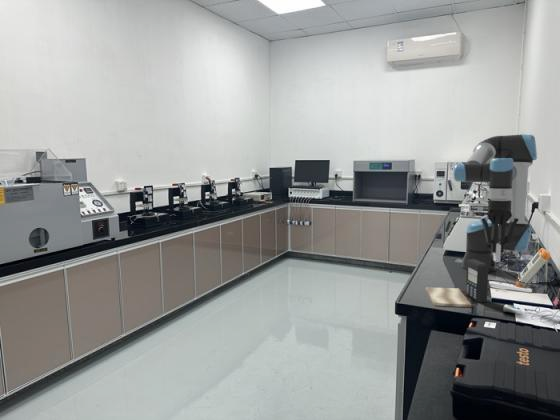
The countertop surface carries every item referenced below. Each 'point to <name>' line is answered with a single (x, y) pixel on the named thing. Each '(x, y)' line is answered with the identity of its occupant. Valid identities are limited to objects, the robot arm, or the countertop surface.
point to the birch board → (447, 297)
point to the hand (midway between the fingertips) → (496, 261)
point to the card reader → (477, 280)
